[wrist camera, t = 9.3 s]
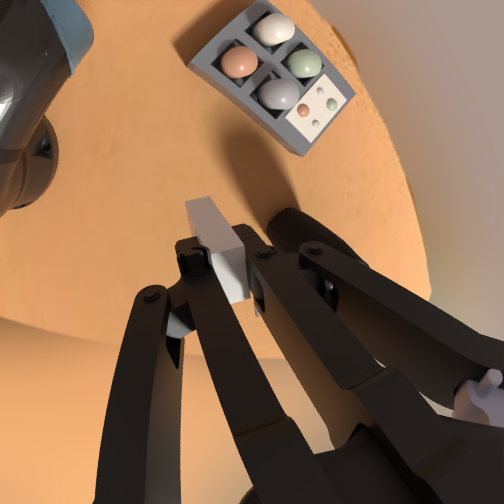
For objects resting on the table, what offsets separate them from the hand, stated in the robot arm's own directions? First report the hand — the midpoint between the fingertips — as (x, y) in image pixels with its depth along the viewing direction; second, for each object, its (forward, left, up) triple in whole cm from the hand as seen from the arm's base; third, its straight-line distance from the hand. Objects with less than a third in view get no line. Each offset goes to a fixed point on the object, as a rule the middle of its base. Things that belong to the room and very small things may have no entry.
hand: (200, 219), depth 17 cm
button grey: (+5, +16, -23) cm, 29 cm away
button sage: (+5, +23, -25) cm, 34 cm away
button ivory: (-2, +23, -23) cm, 33 cm away
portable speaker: (+24, +1, -27) cm, 36 cm away
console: (+4, +19, -26) cm, 33 cm away
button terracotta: (-2, +16, -25) cm, 29 cm away
